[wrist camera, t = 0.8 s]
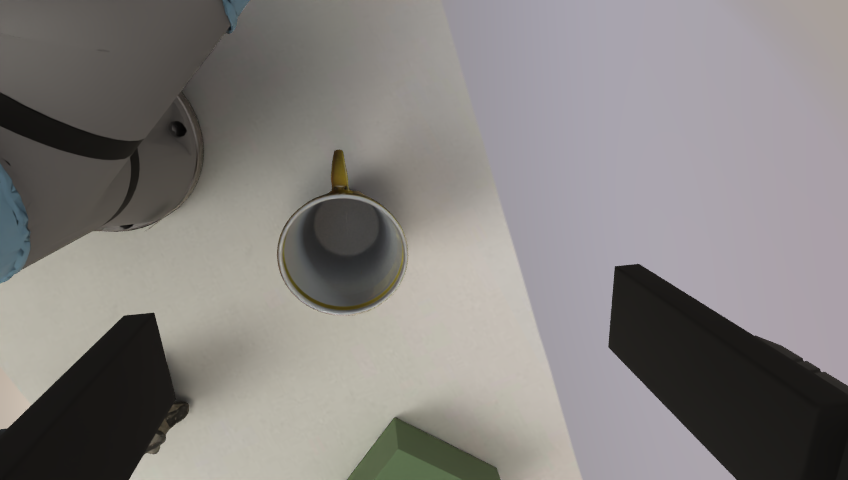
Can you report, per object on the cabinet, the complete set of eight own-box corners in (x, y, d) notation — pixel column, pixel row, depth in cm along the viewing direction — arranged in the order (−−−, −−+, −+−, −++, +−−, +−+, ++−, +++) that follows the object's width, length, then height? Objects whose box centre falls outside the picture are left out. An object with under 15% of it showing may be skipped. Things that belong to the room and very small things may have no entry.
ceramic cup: (399, 268, 48) (409, 311, 39) (298, 273, 47) (283, 320, 37) (396, 138, 44) (406, 151, 35) (286, 140, 43) (265, 154, 33)
